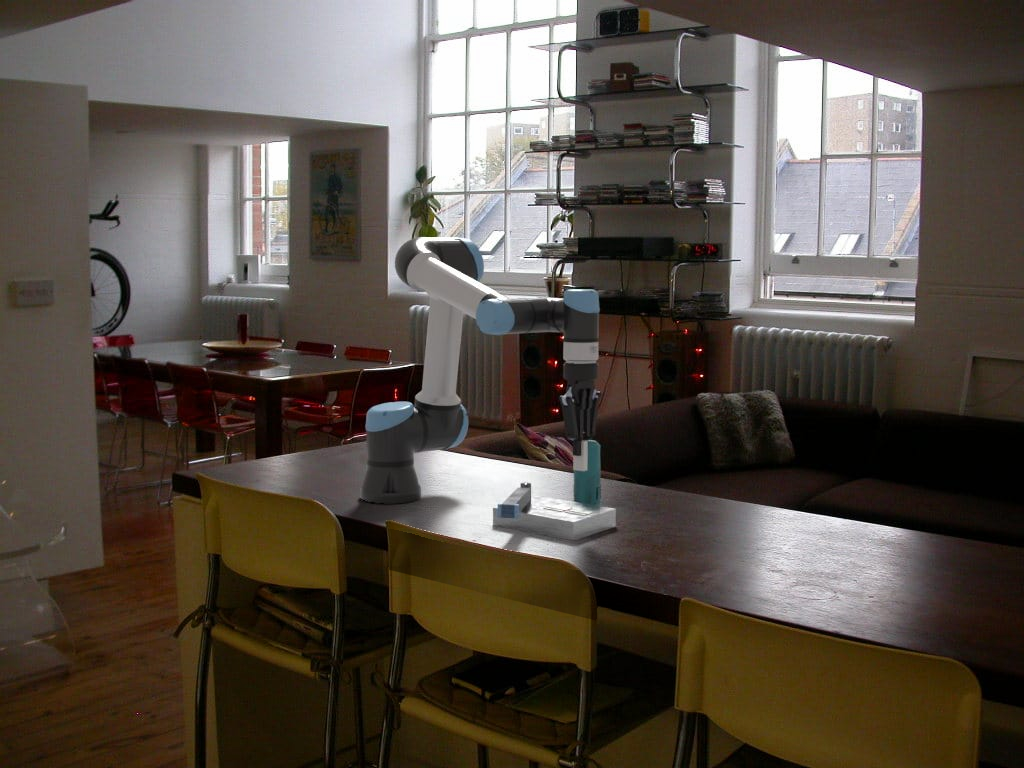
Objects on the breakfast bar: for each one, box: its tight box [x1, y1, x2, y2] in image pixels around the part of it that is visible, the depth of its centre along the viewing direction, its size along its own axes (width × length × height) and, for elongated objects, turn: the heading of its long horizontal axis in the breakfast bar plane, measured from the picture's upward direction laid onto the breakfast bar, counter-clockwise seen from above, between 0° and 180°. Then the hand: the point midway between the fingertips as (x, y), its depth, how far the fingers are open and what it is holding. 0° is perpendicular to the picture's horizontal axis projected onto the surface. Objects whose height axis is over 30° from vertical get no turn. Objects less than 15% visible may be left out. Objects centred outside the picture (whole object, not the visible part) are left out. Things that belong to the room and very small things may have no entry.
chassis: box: [492, 482, 617, 542], centre depth 243 cm, size 22×16×8 cm
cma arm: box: [497, 487, 530, 519], centre depth 237 cm, size 18×4×3 cm, turn 169°
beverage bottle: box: [572, 430, 602, 506], centre depth 258 cm, size 6×7×20 cm
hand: (580, 469), depth 238 cm, fingers closed
